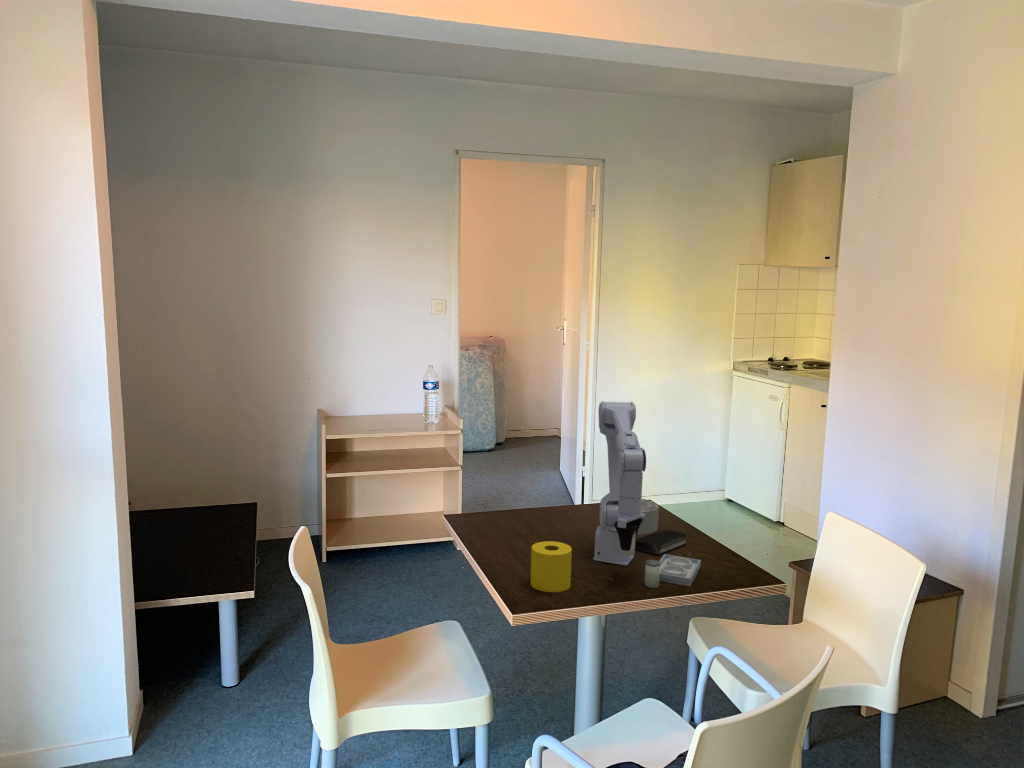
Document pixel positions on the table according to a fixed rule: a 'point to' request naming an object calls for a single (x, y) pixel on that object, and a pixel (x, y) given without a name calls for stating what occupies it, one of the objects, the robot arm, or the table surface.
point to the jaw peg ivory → (632, 549)
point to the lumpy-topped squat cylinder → (648, 517)
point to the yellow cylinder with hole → (551, 566)
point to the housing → (678, 569)
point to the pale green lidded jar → (652, 573)
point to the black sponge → (660, 541)
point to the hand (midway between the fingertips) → (627, 547)
